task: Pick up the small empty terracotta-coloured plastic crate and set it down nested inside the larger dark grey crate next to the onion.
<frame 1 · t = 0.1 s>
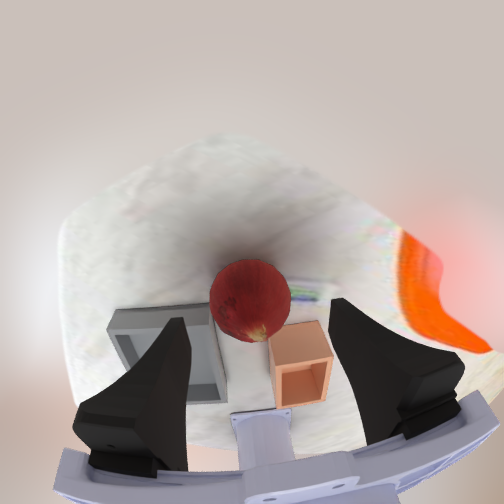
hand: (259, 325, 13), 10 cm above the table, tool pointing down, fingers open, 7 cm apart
onion: (246, 273, 24), on the table
big crate: (174, 350, 26), on the table
small crate: (292, 349, 28), on the table
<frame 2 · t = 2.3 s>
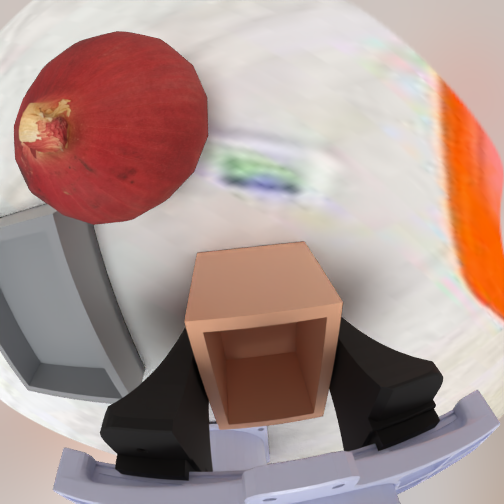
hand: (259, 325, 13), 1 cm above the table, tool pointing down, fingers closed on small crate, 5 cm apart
onion: (145, 126, 10), on the table
big crate: (52, 300, 13), on the table
small crate: (256, 308, 14), on the table, touching gripper
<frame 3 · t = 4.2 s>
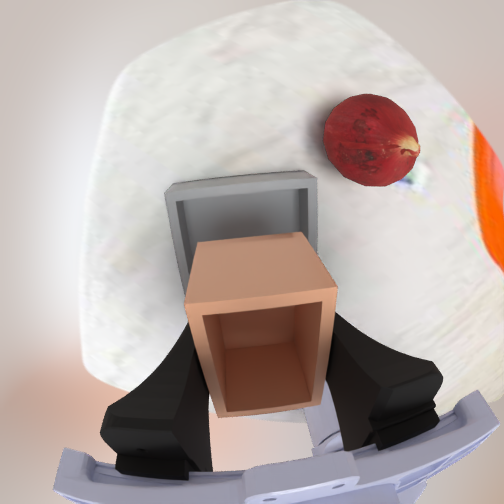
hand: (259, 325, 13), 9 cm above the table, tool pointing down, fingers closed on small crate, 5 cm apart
onion: (346, 136, 18), on the table
big crate: (245, 249, 21), on the table
small crate: (255, 298, 15), point 7 cm above the table, touching gripper
when the fingers open (4 cm above the table, at t = 6.0 s): small crate drops 1 cm, resting on big crate.
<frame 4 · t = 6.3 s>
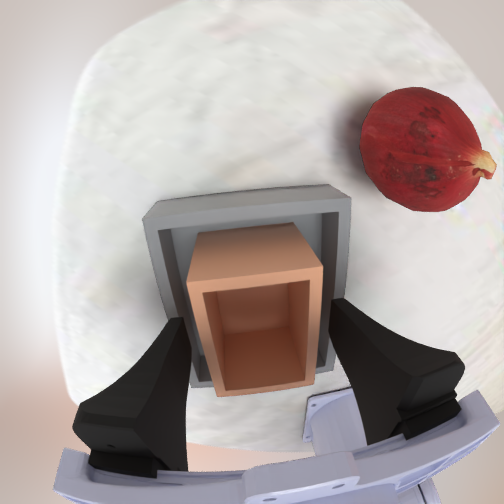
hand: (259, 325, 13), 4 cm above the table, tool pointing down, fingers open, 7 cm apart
onion: (380, 141, 14), on the table
big crate: (252, 283, 17), on the table
small crate: (251, 284, 16), point 1 cm above the table, touching big crate
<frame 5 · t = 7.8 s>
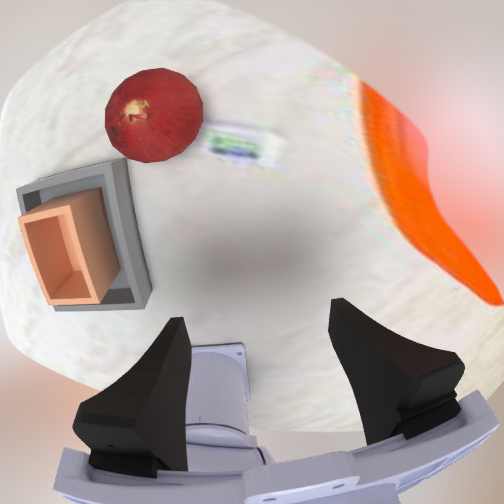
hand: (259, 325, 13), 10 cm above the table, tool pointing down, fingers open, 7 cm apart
onion: (166, 117, 18), on the table
big crate: (89, 234, 20), on the table
small crate: (85, 233, 20), point 1 cm above the table, touching big crate
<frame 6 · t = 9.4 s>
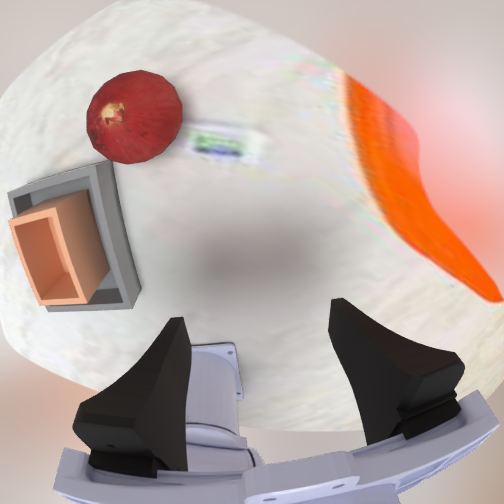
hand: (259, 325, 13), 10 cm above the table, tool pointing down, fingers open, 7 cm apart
onion: (150, 118, 18), on the table
big crate: (79, 235, 20), on the table
small crate: (74, 235, 20), point 1 cm above the table, touching big crate
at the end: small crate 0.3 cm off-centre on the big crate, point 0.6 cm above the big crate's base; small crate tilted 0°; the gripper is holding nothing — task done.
